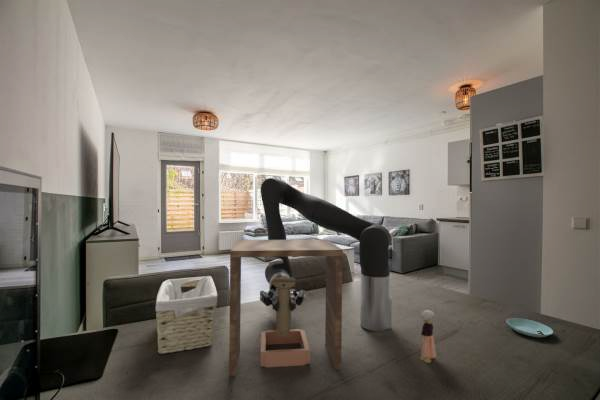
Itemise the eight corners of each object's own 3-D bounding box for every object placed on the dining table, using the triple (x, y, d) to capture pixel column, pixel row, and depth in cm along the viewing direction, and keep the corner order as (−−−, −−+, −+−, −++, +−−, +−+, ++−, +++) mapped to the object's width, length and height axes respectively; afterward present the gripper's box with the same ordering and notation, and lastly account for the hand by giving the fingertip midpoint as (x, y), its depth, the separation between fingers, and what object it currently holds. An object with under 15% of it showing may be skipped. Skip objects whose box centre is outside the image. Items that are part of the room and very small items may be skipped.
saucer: (553, 332, 93) (553, 325, 93) (552, 345, 84) (553, 338, 84) (508, 321, 100) (508, 314, 100) (503, 333, 92) (503, 325, 92)
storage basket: (162, 322, 97) (162, 278, 97) (212, 315, 103) (212, 274, 102) (153, 359, 74) (153, 302, 74) (218, 348, 80) (218, 295, 80)
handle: (294, 339, 76) (295, 282, 75) (270, 338, 76) (271, 282, 76) (295, 330, 80) (296, 277, 80) (272, 329, 81) (273, 276, 80)
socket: (303, 340, 85) (303, 328, 85) (310, 364, 72) (310, 350, 72) (261, 342, 83) (261, 330, 83) (260, 367, 71) (260, 353, 71)
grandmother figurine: (433, 366, 72) (434, 316, 72) (417, 362, 74) (418, 313, 74) (437, 353, 79) (438, 307, 79) (422, 349, 81) (423, 304, 81)
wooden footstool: (326, 335, 88) (327, 239, 88) (341, 369, 71) (342, 249, 70) (236, 339, 85) (237, 240, 85) (229, 376, 67) (230, 250, 67)
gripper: (259, 275, 91) (257, 293, 74) (303, 274, 93) (311, 292, 76) (258, 298, 91) (257, 322, 74) (302, 297, 93) (311, 321, 76)
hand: (284, 307), depth 75 cm, fingers closed on handle, 3 cm apart
